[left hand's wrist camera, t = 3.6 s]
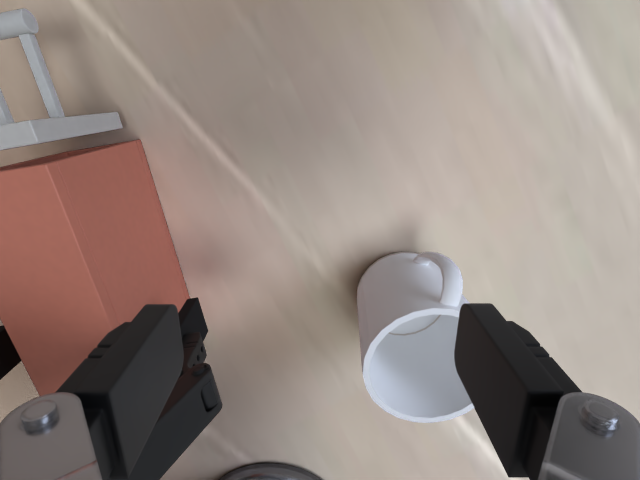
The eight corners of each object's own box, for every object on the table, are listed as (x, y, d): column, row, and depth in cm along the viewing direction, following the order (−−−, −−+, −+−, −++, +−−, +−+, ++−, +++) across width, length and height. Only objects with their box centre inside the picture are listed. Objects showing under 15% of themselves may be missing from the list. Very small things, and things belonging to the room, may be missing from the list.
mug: (436, 342, 37) (477, 431, 27) (342, 327, 36) (349, 412, 27) (473, 232, 33) (535, 290, 23) (368, 214, 33) (388, 266, 23)
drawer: (19, 36, 27) (-125, 10, 19) (89, 23, 27) (-23, -10, 18) (122, 306, 35) (54, 379, 26) (178, 298, 35) (128, 369, 26)
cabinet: (63, 152, 31) (-70, 183, 21) (140, 139, 31) (45, 163, 20) (132, 333, 37) (56, 430, 26) (198, 324, 37) (147, 418, 26)
